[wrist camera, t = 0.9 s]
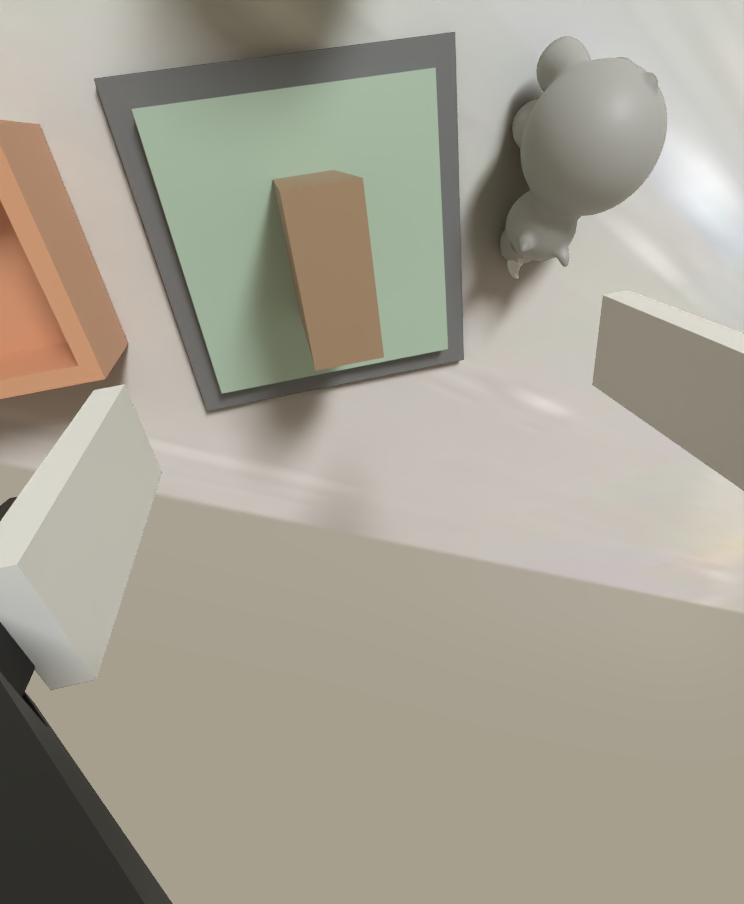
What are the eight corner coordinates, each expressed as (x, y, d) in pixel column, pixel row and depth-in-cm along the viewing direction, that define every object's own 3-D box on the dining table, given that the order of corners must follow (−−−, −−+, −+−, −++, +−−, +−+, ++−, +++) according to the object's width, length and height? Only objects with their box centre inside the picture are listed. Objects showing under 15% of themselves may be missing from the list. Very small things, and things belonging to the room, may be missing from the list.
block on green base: (135, 110, 26) (79, 92, 18) (430, 70, 28) (506, 36, 19) (222, 387, 35) (212, 463, 26) (443, 344, 36) (500, 403, 28)
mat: (96, 80, 26) (93, 78, 25) (451, 34, 28) (454, 31, 27) (207, 407, 36) (207, 411, 35) (460, 356, 38) (463, 359, 37)
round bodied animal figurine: (448, 221, 35) (470, 292, 30) (548, 8, 26) (604, 57, 21) (535, 249, 37) (569, 321, 32) (654, 61, 28) (729, 118, 23)
